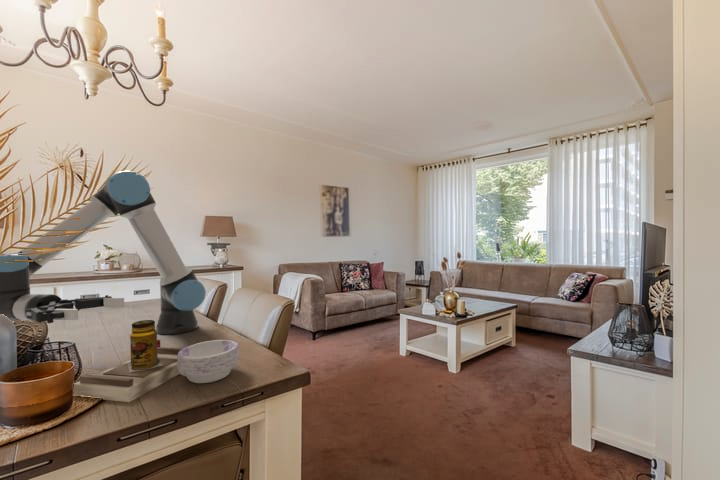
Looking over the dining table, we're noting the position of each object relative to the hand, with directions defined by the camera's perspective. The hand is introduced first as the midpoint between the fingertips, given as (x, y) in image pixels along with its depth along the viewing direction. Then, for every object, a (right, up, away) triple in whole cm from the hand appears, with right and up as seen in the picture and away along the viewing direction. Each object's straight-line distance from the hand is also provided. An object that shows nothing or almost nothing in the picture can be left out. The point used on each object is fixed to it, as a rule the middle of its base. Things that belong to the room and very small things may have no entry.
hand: (101, 308), depth 92 cm
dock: (+12, -18, -2) cm, 22 cm away
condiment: (+13, -15, -1) cm, 20 cm away
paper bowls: (+30, -19, -1) cm, 35 cm away
